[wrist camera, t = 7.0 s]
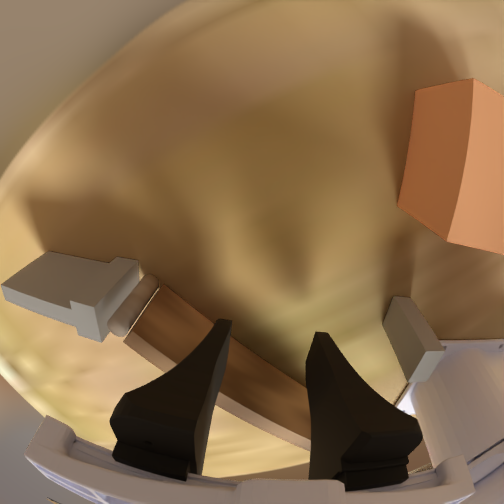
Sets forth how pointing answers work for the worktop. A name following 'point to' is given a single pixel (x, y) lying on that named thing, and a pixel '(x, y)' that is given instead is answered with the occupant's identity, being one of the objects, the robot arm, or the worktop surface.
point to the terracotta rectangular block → (457, 164)
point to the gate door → (237, 368)
